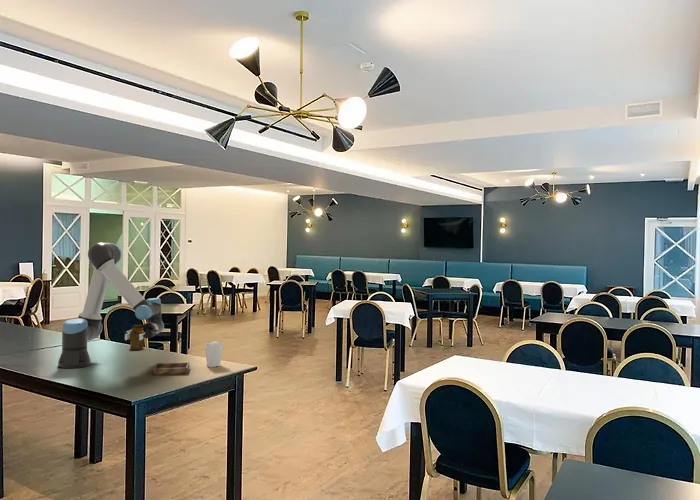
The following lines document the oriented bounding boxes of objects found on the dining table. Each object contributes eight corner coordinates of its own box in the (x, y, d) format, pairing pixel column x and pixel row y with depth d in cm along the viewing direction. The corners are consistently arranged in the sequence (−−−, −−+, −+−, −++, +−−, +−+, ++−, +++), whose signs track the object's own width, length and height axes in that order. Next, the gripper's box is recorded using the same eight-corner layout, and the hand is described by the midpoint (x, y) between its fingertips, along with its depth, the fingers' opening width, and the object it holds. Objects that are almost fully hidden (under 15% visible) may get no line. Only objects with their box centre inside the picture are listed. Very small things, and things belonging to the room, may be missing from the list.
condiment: (143, 348, 276) (144, 324, 275) (145, 351, 268) (145, 326, 268) (128, 348, 272) (128, 324, 272) (129, 352, 265) (129, 327, 265)
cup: (219, 367, 284) (220, 344, 284) (202, 367, 284) (202, 344, 284) (224, 364, 293) (224, 341, 293) (207, 363, 293) (207, 341, 293)
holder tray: (152, 375, 266) (152, 368, 266) (156, 369, 279) (156, 363, 278) (187, 374, 269) (187, 367, 269) (189, 368, 282) (189, 362, 282)
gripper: (167, 337, 288) (152, 345, 265) (130, 337, 288) (112, 344, 265) (167, 323, 288) (153, 329, 265) (130, 322, 288) (112, 329, 265)
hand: (132, 337), depth 265 cm, fingers closed on condiment, 6 cm apart
